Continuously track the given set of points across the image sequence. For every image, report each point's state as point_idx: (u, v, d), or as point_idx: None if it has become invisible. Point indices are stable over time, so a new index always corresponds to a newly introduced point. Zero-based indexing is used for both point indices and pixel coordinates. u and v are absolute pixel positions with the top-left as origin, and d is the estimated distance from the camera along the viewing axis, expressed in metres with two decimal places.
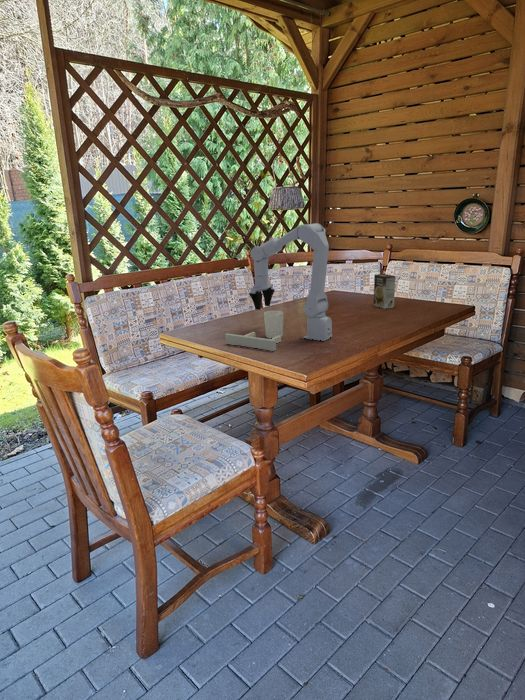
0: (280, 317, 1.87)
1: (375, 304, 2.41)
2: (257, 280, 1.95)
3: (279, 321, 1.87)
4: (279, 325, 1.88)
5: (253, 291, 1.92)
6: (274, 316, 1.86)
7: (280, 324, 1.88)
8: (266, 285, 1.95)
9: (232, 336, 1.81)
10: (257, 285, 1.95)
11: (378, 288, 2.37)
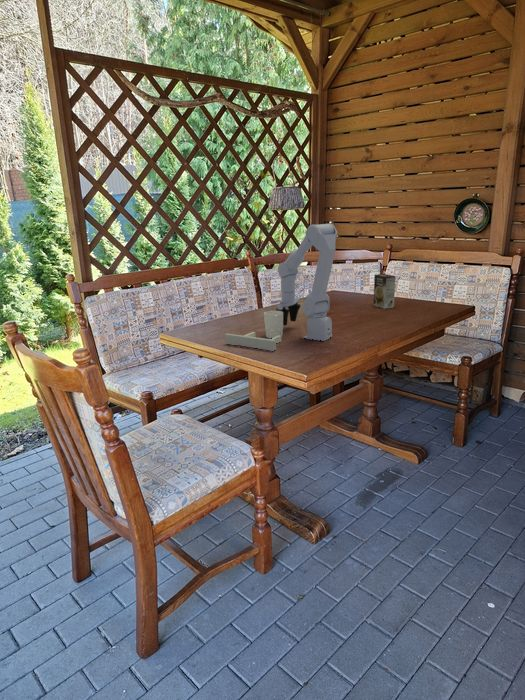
0: (280, 317, 1.87)
1: (375, 304, 2.41)
2: (284, 296, 1.95)
3: (279, 321, 1.87)
4: (279, 325, 1.88)
5: (280, 307, 1.93)
6: (274, 316, 1.86)
7: (280, 324, 1.88)
8: (293, 301, 1.96)
9: (232, 336, 1.81)
10: (284, 301, 1.96)
11: (378, 288, 2.37)
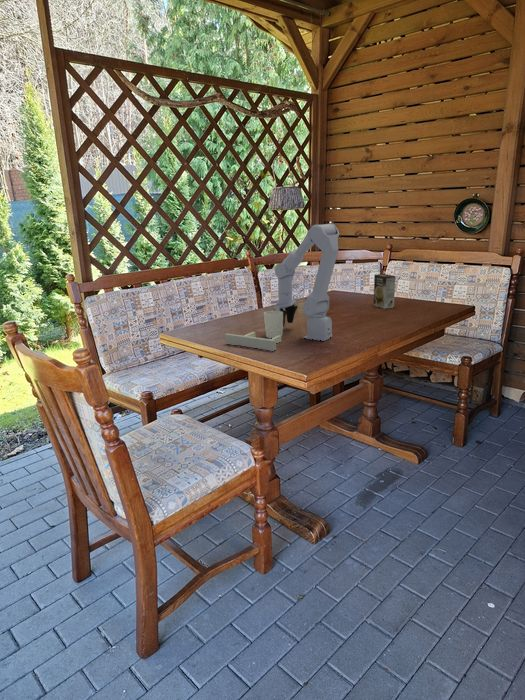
0: (280, 317, 1.87)
1: (375, 304, 2.41)
2: (281, 297, 1.93)
3: (279, 321, 1.87)
4: (279, 325, 1.88)
5: (277, 308, 1.91)
6: (274, 316, 1.86)
7: (280, 324, 1.88)
8: (290, 302, 1.94)
9: (232, 336, 1.81)
10: (281, 302, 1.94)
11: (378, 288, 2.37)
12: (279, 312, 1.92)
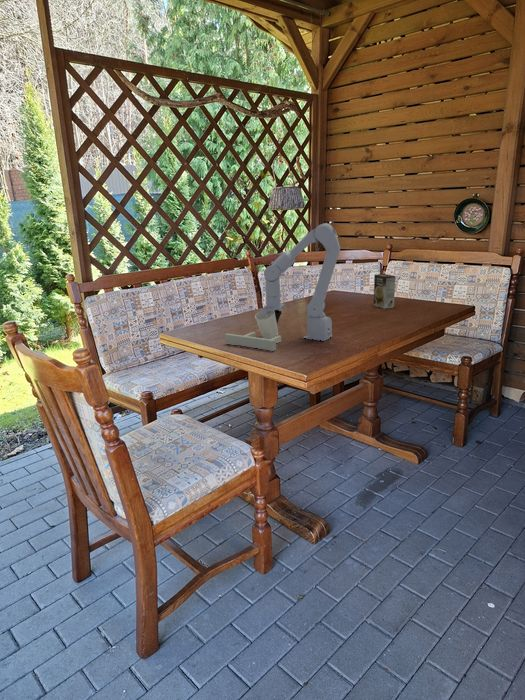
0: (272, 319, 1.83)
1: (375, 304, 2.41)
2: (268, 300, 1.86)
3: (272, 323, 1.83)
4: (273, 326, 1.84)
5: (264, 312, 1.83)
6: (266, 320, 1.81)
7: (274, 325, 1.84)
8: (278, 306, 1.87)
9: (232, 336, 1.81)
10: (268, 306, 1.87)
11: (378, 288, 2.37)
12: (270, 311, 1.87)
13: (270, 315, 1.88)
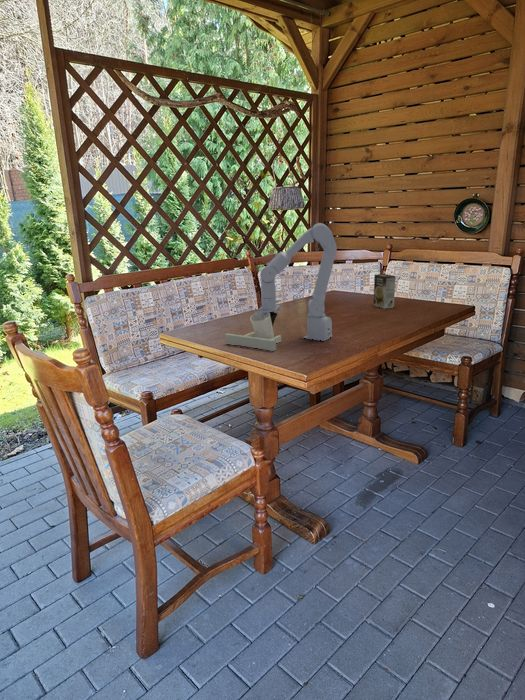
0: (268, 321, 1.80)
1: (375, 304, 2.41)
2: (264, 302, 1.83)
3: (267, 325, 1.80)
4: (268, 328, 1.81)
5: (259, 314, 1.80)
6: (261, 322, 1.79)
7: (269, 327, 1.81)
8: (273, 308, 1.84)
9: (232, 336, 1.81)
10: (264, 307, 1.84)
11: (378, 288, 2.37)
12: None
13: (265, 317, 1.85)
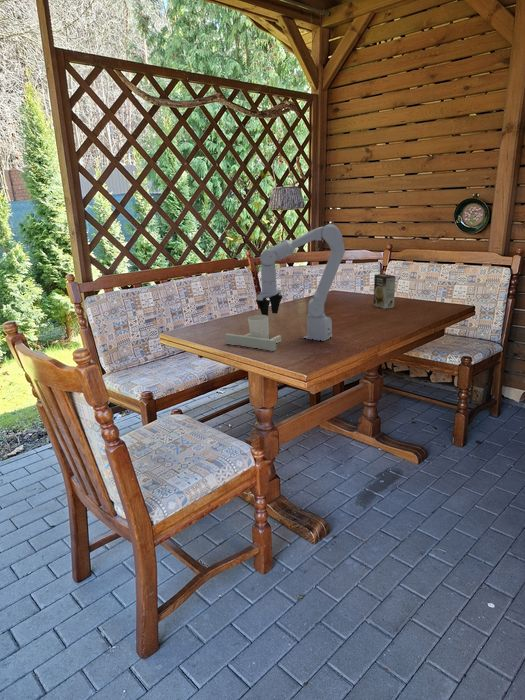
0: (266, 321, 1.79)
1: (375, 304, 2.41)
2: (264, 286, 1.82)
3: (265, 326, 1.79)
4: (266, 330, 1.80)
5: (260, 298, 1.79)
6: (260, 321, 1.78)
7: (266, 329, 1.80)
8: (274, 291, 1.83)
9: (232, 336, 1.81)
10: (264, 291, 1.83)
11: (378, 288, 2.37)
12: (263, 316, 1.84)
13: None
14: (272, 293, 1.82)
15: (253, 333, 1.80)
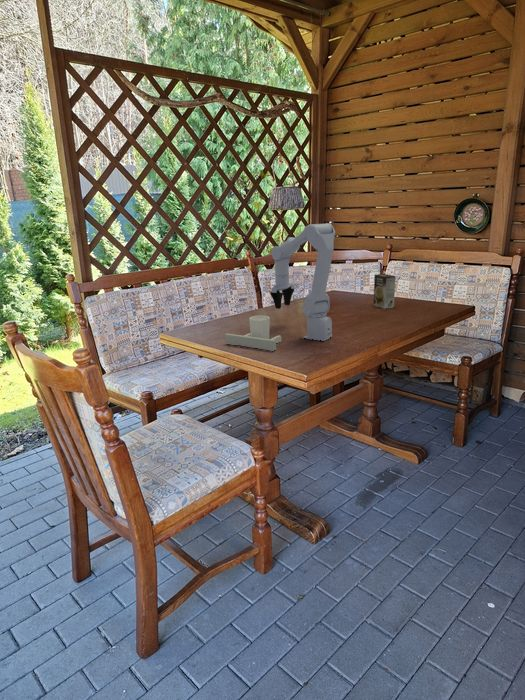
0: (267, 322, 1.80)
1: (375, 304, 2.41)
2: (278, 279, 1.97)
3: (266, 326, 1.80)
4: (266, 330, 1.80)
5: (274, 290, 1.94)
6: (262, 321, 1.78)
7: (267, 329, 1.80)
8: (287, 284, 1.98)
9: (232, 336, 1.81)
10: (278, 284, 1.98)
11: (378, 288, 2.37)
12: (264, 317, 1.84)
13: None
14: (285, 286, 1.97)
15: (254, 333, 1.80)
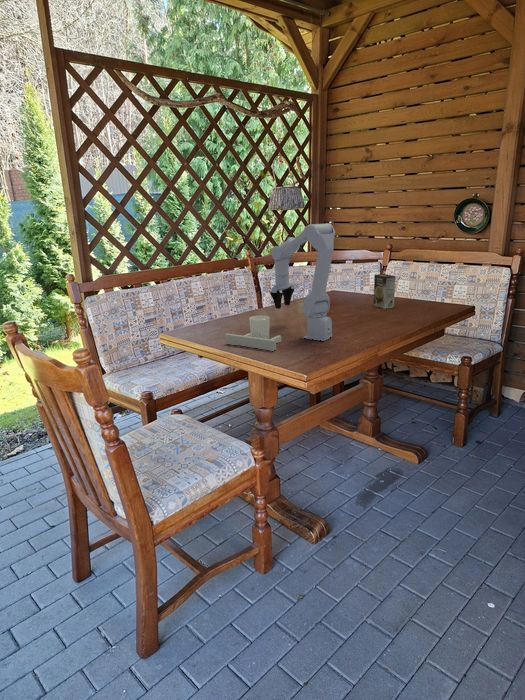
0: (267, 322, 1.80)
1: (375, 304, 2.41)
2: (278, 279, 1.97)
3: (266, 326, 1.80)
4: (266, 330, 1.80)
5: (274, 290, 1.94)
6: (262, 321, 1.78)
7: (267, 329, 1.81)
8: (287, 284, 1.98)
9: (232, 336, 1.81)
10: (278, 284, 1.98)
11: (378, 288, 2.37)
12: (264, 317, 1.84)
13: None
14: (285, 286, 1.97)
15: (254, 333, 1.80)
